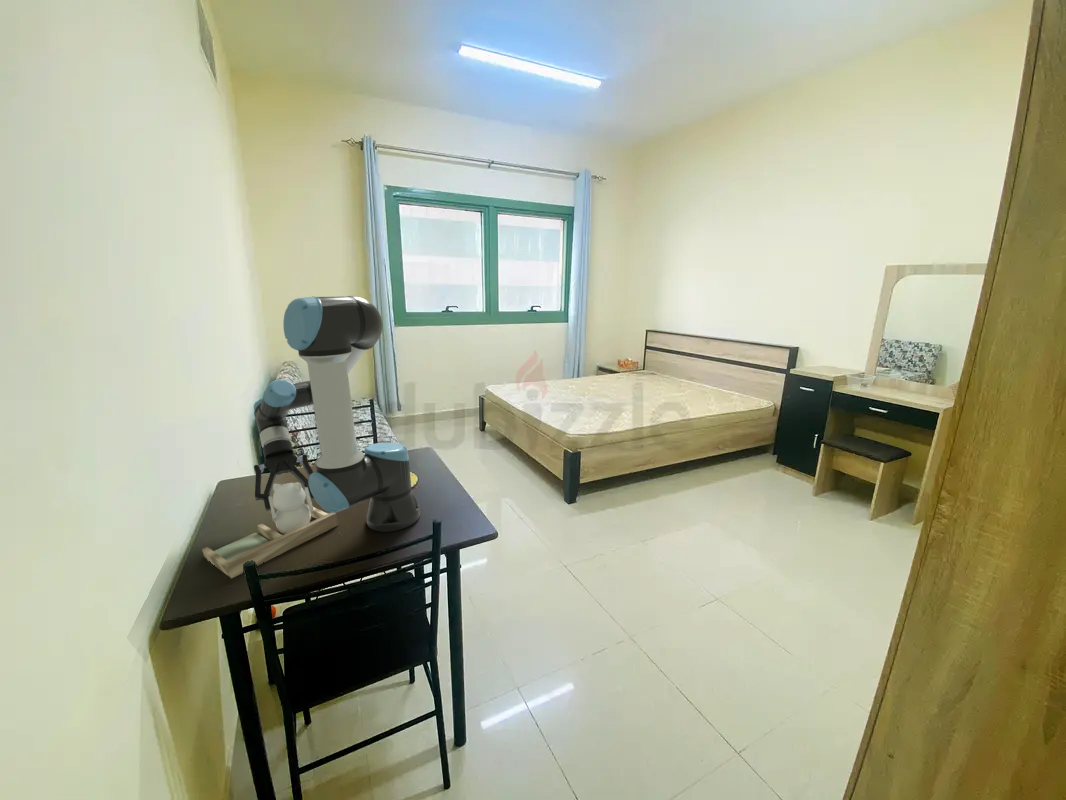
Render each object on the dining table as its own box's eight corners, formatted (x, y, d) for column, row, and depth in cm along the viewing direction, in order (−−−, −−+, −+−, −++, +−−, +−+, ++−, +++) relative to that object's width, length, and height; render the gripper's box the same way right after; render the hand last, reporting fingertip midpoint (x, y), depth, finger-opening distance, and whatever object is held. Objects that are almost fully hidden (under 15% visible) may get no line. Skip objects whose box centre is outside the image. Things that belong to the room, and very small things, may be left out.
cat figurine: (270, 540, 116) (262, 490, 112) (286, 517, 127) (279, 471, 124) (305, 537, 117) (299, 488, 113) (318, 514, 129) (313, 469, 125)
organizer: (337, 525, 123) (336, 513, 122) (231, 578, 101) (228, 564, 100) (307, 510, 132) (305, 499, 131) (202, 556, 109) (199, 543, 108)
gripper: (315, 443, 135) (333, 507, 127) (235, 459, 123) (249, 531, 115) (316, 431, 130) (335, 498, 121) (232, 446, 118) (247, 522, 109)
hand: (293, 514), depth 118 cm, fingers closed on cat figurine, 8 cm apart
